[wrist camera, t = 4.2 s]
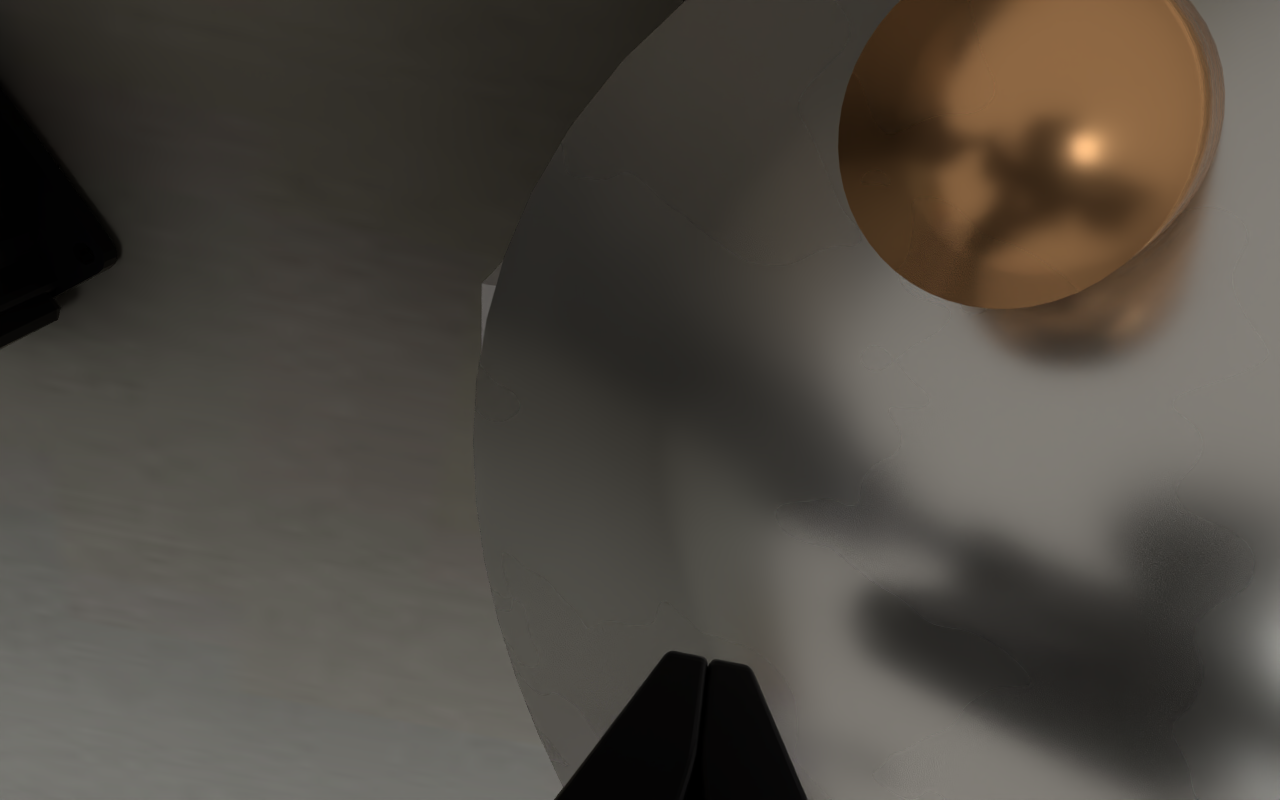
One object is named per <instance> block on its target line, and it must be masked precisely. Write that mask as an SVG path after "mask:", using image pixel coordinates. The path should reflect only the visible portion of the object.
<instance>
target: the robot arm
mask: <svg viewBox="0 0 1280 800" xmlns="http://www.w3.org/2000/svg"><path fill="white" fill-rule="evenodd" d="M86 245H87V246H88V247H89V248H90V249H91V250H92V252H93V254H94V257H93V256H92V255H91V254H89V252H88V250H87V248H86ZM116 258H117V254H116V248H115V246H114V244H113V243H112V241H111V239H110V238H109V236H108V235H107V234H106V232H105V231H104V230H103V228H102V227H101V225H100V224H99V223H98V221H97V220H96V219H95V217H94V216H93V214H92V213H91V212H90V210H89V209H88V208H87V206H86V205H85V203H84V202H83V201H82V199H81V198H80V197H79V195H78V194H77V192H76V191H75V190H74V188H73V187H72V186H71V184H70V183H69V181H68V180H67V179H66V177H65V176H64V175H63V173H62V172H61V170H60V169H59V168H58V166H57V165H56V164H55V162H54V161H53V160H52V158H51V157H50V155H49V154H48V153H47V151H46V150H45V149H44V147H43V146H42V144H41V143H40V142H39V140H38V139H37V138H36V136H35V135H34V133H33V132H32V131H31V129H30V128H29V127H28V125H27V124H26V122H25V121H24V120H23V118H22V117H21V116H20V114H19V113H18V111H17V110H16V109H15V107H14V106H13V105H12V103H11V102H10V100H9V99H8V98H7V96H6V95H5V94H4V92H3V91H2V89H1V88H0V349H2V348H4V347H6V346H8V345H9V344H11V343H13V342H15V341H17V340H19V339H21V338H23V337H25V336H27V335H29V334H31V333H33V332H35V331H37V330H38V329H40V328H42V327H44V326H46V325H48V324H50V323H52V322H54V321H56V320H58V318H59V313H60V309H61V307H60V306H59V305H58V303H57V302H56V301H55V299H54V298H55V297H57V296H58V295H60V294H62V293H64V292H66V291H68V290H70V289H72V288H74V287H75V286H77V285H79V284H81V283H83V282H85V281H87V280H89V279H90V278H92V277H94V276H96V275H98V274H100V273H102V272H104V271H105V270H107V269H109V268H111V267H112V266H113V265H114V264H115V262H116ZM554 800H808V799H807V796H806V794H805V792H804V789H803V787H802V784H801V782H800V780H799V777H798V775H797V773H796V770H795V768H794V766H793V763H792V761H791V758H790V756H789V754H788V751H787V749H786V747H785V744H784V742H783V740H782V737H781V735H780V732H779V730H778V728H777V725H776V723H775V721H774V718H773V716H772V714H771V711H770V709H769V706H768V704H767V702H766V699H765V697H764V695H763V692H762V690H761V688H760V685H759V683H758V680H757V678H756V676H755V674H754V672H753V670H752V669H751V668H750V667H749V666H748V665H745V664H740V663H735V662H730V661H725V660H720V659H714V660H712V661H711V662H710V663H709V665H708V662H707V659H706V658H705V657H703V656H699V655H693V654H688V653H683V652H678V651H669V652H667V653H666V654H665V655H664V656H663V657H662V658H661V660H660V661H659V662H658V664H657V665H656V666H655V668H654V669H653V670H652V672H651V673H650V674H649V676H648V677H647V678H646V680H645V681H644V682H643V683H642V685H641V686H640V687H639V689H638V690H637V691H636V693H635V694H634V695H633V697H632V698H631V699H630V701H629V702H628V703H627V704H626V706H625V707H624V708H623V710H622V711H621V712H620V714H619V715H618V716H617V718H616V719H615V720H614V722H613V723H612V724H611V726H610V727H609V728H608V729H607V731H606V732H605V733H604V735H603V736H602V737H601V739H600V740H599V741H598V743H597V744H596V745H595V747H594V748H593V749H592V750H591V752H590V753H589V754H588V756H587V757H586V758H585V760H584V761H583V762H582V764H581V765H580V766H579V768H578V769H577V770H576V772H575V773H574V774H573V775H572V777H571V778H570V779H569V781H568V782H567V783H566V785H565V786H564V787H563V789H562V790H561V791H560V793H559V794H558V795H557V797H556V798H555V799H554Z"/></svg>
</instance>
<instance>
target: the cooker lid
mask: <svg viewBox="0 0 1280 800" xmlns="http://www.w3.org/2000/svg"><path fill="white" fill-rule="evenodd" d="M473 447H474V468H475V489H476V504H477V512H478V519H479V526H480V533H481V540H482V547H483V554H484V561H485V565H486V570H487V574H488V579H489V583H490V587H491V592H492V596H493V601H494V605H495V609H496V614H497V618H498V621H499V625H500V628H501V631H502V634H503V638H504V641H505V644H506V647H507V650H508V654H509V657H510V660H511V663H512V667H513V670H514V673H515V676H516V679H517V681H518V684H519V686H520V689H521V691H522V694H523V697H524V699H525V702H526V704H527V707H528V709H529V712H530V714H531V717H532V720H533V722H534V725H535V727H536V730H537V732H538V735H539V737H540V739H541V741H542V743H543V745H544V747H545V749H546V752H547V754H548V756H549V758H550V760H551V762H552V764H553V767H554V769H555V771H556V773H557V775H558V777H559V779H560V781H561V784H562V786H563V787H564V786H565V785H566V783H567V782H568V781H569V779H570V778H571V777H572V775H573V774H574V773H575V772H576V770H577V769H578V768H579V766H580V765H581V764H582V762H583V761H584V760H585V758H586V757H587V756H588V754H589V753H590V752H591V750H592V749H593V748H594V747H595V745H596V744H597V743H598V741H599V740H600V739H601V737H602V736H603V735H604V733H605V732H606V731H607V729H608V728H609V727H610V726H611V724H612V723H613V722H614V720H615V719H616V718H617V716H618V715H619V714H620V712H621V711H622V710H623V708H624V707H625V706H626V704H627V703H628V702H629V701H630V699H631V698H632V697H633V695H634V694H635V693H636V691H637V690H638V689H639V687H640V686H641V685H642V683H643V682H644V681H645V680H646V678H647V677H648V676H649V674H650V673H651V672H652V670H653V669H654V668H655V666H656V665H657V664H658V662H659V661H660V660H661V658H662V657H663V656H664V655H665V654H666V653H667V652H669V651H678V652H683V653H688V654H693V655H699V656H703V657H705V658H706V659H707V662H708V665H709V663H710V662H711V661H712V660H714V659H720V660H725V661H730V662H735V663H740V664H745V665H748V666H749V667H750V668H751V669H752V670H753V672H754V674H755V676H756V678H757V680H758V683H759V685H760V688H761V690H762V692H763V695H764V697H765V699H766V702H767V704H768V706H769V709H770V711H771V714H772V716H773V718H774V721H775V723H776V725H777V728H778V730H779V732H780V735H781V737H782V740H783V742H784V744H785V747H786V749H787V751H788V754H789V756H790V758H791V761H792V763H793V766H794V768H795V770H796V773H797V775H798V777H799V780H800V782H801V784H802V787H803V789H804V792H805V794H806V796H807V799H808V800H1280V0H686V1H685V2H684V3H683V4H682V5H681V6H680V7H679V8H677V9H676V10H675V11H674V12H673V13H672V14H671V15H670V16H669V17H668V18H667V19H666V20H665V21H664V22H663V23H662V24H661V25H660V26H658V27H657V28H656V29H655V30H654V31H653V32H652V33H651V34H650V35H649V36H648V37H647V38H646V39H645V40H644V41H643V42H642V43H641V44H640V45H638V46H637V47H636V48H635V49H634V50H633V51H632V52H631V53H630V54H629V55H628V56H627V57H626V58H625V59H624V60H623V61H622V62H621V64H620V65H619V66H618V67H617V69H616V70H615V71H614V72H613V74H612V75H611V76H610V77H609V79H608V80H607V81H606V82H605V84H604V85H603V86H602V87H601V89H600V90H599V91H598V92H597V94H596V95H595V96H594V97H593V99H592V100H591V101H590V103H589V104H588V105H587V106H586V108H585V109H584V110H583V111H582V113H581V114H580V115H579V116H578V118H577V119H576V120H575V121H574V123H573V124H572V125H571V127H570V128H569V130H568V132H567V133H566V135H565V137H564V138H563V140H562V142H561V143H560V145H559V147H558V148H557V150H556V152H555V154H554V155H553V157H552V159H551V160H550V162H549V164H548V165H547V167H546V169H545V170H544V172H543V174H542V176H541V177H540V179H539V181H538V182H537V184H536V186H535V187H534V189H533V191H532V193H531V195H530V197H529V200H528V202H527V204H526V207H525V209H524V211H523V214H522V216H521V218H520V221H519V223H518V226H517V228H516V230H515V233H514V235H513V237H512V240H511V242H510V244H509V247H508V249H507V251H506V254H505V256H504V259H503V263H502V266H501V270H500V274H499V277H498V281H497V284H496V288H495V291H494V295H493V298H492V302H491V305H490V309H489V312H488V316H487V319H486V325H485V331H484V337H483V344H482V350H481V356H480V362H479V368H478V375H477V381H476V399H475V418H474V437H473Z"/></svg>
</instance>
